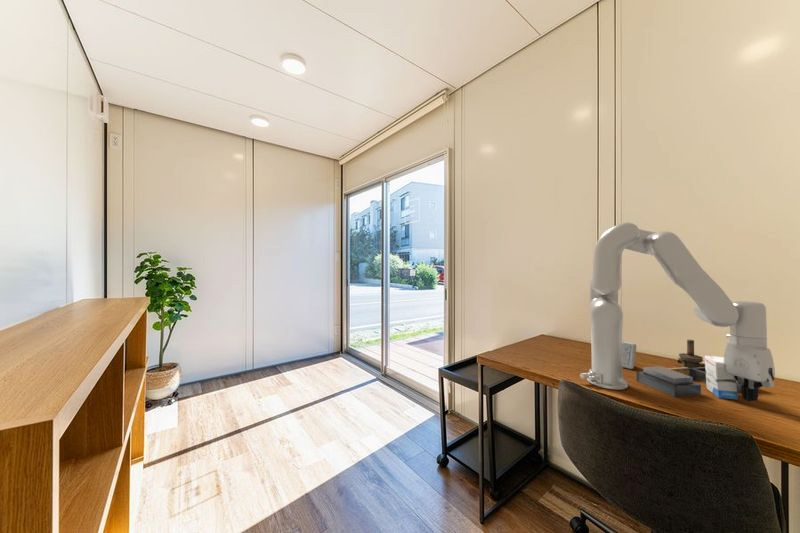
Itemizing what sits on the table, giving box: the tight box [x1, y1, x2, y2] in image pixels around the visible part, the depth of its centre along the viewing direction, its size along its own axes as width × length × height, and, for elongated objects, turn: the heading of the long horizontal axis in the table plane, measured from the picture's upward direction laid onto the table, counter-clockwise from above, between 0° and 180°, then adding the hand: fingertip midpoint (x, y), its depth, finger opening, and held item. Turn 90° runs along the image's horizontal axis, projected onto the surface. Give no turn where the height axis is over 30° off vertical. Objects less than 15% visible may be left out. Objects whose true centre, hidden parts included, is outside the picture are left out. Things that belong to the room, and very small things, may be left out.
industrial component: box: [677, 339, 704, 368], centre depth 125 cm, size 9×7×12 cm
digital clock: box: [622, 340, 637, 370], centre depth 132 cm, size 16×9×11 cm, turn 22°
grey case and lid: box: [636, 365, 742, 398], centre depth 108 cm, size 33×14×6 cm, turn 97°
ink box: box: [704, 355, 739, 401], centre depth 101 cm, size 9×5×12 cm, turn 153°
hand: (749, 399), depth 93 cm, fingers closed
